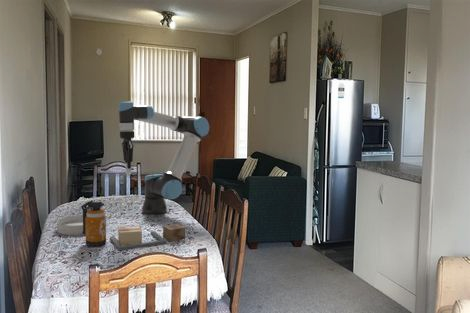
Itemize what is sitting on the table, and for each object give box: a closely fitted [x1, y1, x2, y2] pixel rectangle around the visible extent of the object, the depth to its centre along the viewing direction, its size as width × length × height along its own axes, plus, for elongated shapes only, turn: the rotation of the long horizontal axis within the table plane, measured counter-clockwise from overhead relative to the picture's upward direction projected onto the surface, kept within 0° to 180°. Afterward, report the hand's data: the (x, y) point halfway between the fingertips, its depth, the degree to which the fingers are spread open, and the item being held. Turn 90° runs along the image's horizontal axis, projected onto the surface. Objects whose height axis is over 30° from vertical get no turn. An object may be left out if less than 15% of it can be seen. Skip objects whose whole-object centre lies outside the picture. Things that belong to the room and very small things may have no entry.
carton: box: [117, 226, 143, 246], centre depth 190 cm, size 10×8×6 cm
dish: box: [56, 214, 83, 236], centre depth 209 cm, size 22×22×5 cm
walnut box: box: [162, 223, 186, 243], centre depth 196 cm, size 8×8×6 cm
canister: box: [80, 200, 107, 247], centre depth 185 cm, size 9×11×20 cm
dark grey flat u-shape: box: [109, 230, 167, 251], centre depth 191 cm, size 22×18×1 cm
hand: (128, 174), depth 218 cm, fingers closed
